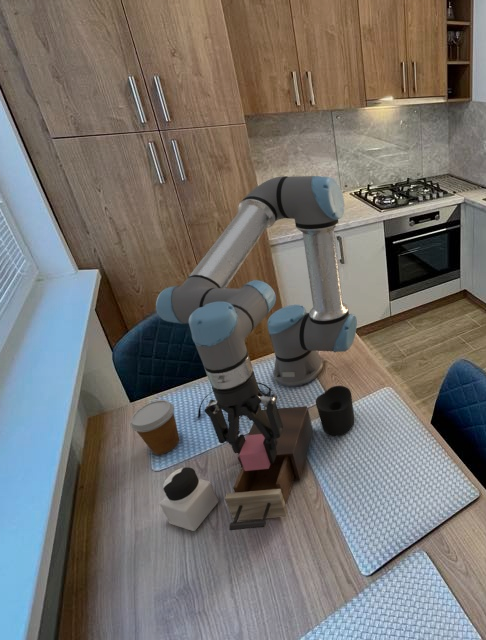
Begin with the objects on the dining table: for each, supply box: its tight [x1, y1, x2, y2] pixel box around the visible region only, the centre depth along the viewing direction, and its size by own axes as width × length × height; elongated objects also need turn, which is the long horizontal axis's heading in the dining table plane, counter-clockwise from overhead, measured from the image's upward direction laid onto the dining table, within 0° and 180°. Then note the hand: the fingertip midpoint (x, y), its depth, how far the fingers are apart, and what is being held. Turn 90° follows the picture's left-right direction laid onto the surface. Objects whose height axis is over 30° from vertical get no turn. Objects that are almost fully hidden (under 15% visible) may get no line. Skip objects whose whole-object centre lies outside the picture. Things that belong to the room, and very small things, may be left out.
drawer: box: [224, 456, 295, 531], centre depth 92 cm, size 18×11×8 cm, turn 4°
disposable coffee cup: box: [129, 399, 180, 455], centre depth 107 cm, size 10×10×12 cm
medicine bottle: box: [159, 466, 219, 532], centre depth 90 cm, size 7×7×12 cm
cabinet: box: [237, 405, 314, 482], centre depth 103 cm, size 15×13×10 cm
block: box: [238, 434, 270, 471], centre depth 87 cm, size 5×5×5 cm
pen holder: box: [315, 385, 355, 438], centre depth 112 cm, size 9×9×10 cm
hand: (260, 459), depth 88 cm, fingers closed on block, 5 cm apart
